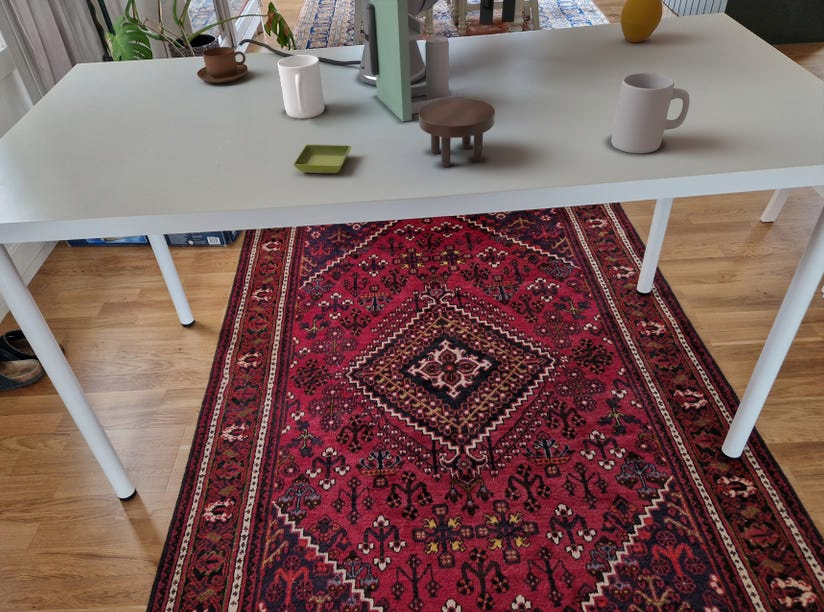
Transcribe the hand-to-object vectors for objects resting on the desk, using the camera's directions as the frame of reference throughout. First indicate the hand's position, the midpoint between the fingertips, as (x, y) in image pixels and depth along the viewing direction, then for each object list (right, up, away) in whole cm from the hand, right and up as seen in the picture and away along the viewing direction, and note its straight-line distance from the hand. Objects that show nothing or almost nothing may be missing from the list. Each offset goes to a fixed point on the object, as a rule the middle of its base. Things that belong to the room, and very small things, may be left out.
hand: (497, 23), depth 139 cm
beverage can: (-13, -18, -2) cm, 22 cm away
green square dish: (-35, -38, -24) cm, 57 cm away
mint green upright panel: (-18, -19, -3) cm, 26 cm away
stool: (-11, -36, -24) cm, 45 cm away
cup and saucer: (-64, -5, +16) cm, 66 cm away
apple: (+38, +7, +22) cm, 45 cm away
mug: (+23, -34, -24) cm, 48 cm away
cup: (-41, -22, -5) cm, 47 cm away
